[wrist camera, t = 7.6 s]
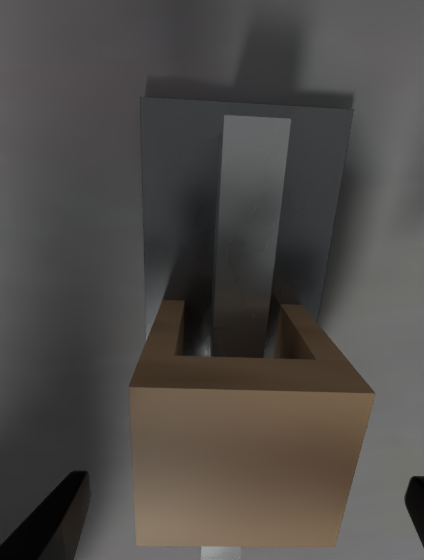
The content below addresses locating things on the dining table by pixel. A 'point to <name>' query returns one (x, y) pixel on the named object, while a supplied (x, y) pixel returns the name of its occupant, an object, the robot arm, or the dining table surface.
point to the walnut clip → (244, 438)
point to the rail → (237, 219)
